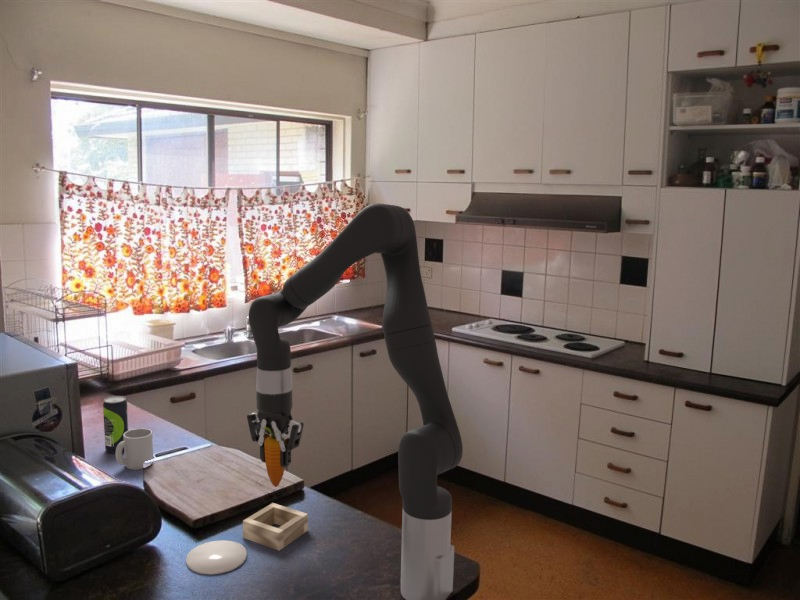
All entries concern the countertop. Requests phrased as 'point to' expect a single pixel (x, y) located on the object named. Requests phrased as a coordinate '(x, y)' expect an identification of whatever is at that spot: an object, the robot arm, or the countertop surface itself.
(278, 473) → the carrot
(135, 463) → the cup
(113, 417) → the beverage can
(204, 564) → the domed disc
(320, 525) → the countertop surface
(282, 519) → the pocket frame
